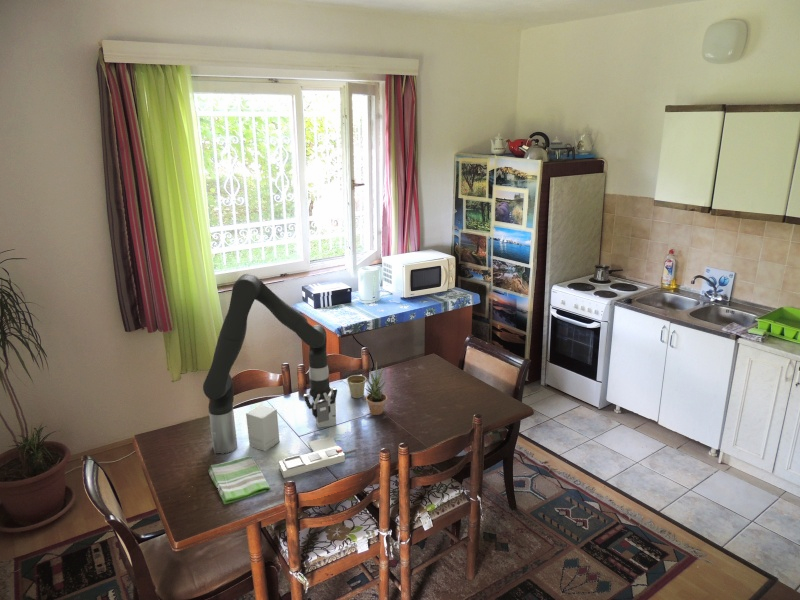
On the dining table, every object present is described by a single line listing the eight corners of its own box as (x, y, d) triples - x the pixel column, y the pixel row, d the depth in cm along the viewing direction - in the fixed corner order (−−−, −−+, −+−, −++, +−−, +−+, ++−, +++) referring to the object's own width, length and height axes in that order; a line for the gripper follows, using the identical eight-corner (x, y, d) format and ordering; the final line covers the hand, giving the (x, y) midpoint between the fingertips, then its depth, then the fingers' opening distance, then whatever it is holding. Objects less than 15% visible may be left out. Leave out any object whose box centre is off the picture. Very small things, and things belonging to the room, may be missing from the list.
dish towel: (252, 459, 222) (251, 452, 221) (272, 490, 203) (271, 482, 202) (208, 473, 214) (207, 465, 212) (224, 507, 195) (222, 498, 194)
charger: (318, 422, 223) (317, 404, 220) (314, 417, 227) (313, 399, 224) (329, 420, 225) (328, 402, 222) (325, 415, 229) (324, 397, 226)
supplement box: (280, 441, 234) (277, 409, 229) (265, 452, 226) (262, 418, 222) (264, 435, 238) (261, 403, 234) (248, 446, 231) (245, 413, 226)
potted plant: (390, 414, 254) (389, 363, 247) (370, 418, 251) (368, 367, 244) (382, 404, 263) (381, 355, 256) (363, 408, 260) (361, 359, 252)
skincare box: (318, 428, 243) (316, 397, 239) (315, 421, 249) (313, 391, 244) (337, 425, 246) (335, 394, 241) (334, 418, 251) (333, 388, 247)
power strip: (284, 477, 209) (283, 469, 208) (279, 468, 215) (278, 459, 214) (359, 457, 222) (358, 448, 220) (352, 448, 228) (352, 440, 227)
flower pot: (344, 393, 275) (344, 377, 272) (362, 389, 278) (362, 373, 276) (351, 401, 267) (350, 384, 264) (369, 397, 270) (369, 381, 268)
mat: (315, 455, 223) (315, 454, 223) (308, 443, 232) (308, 442, 232) (339, 449, 227) (339, 447, 227) (331, 437, 236) (331, 436, 236)
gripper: (304, 383, 214) (307, 423, 219) (339, 375, 220) (341, 415, 225) (298, 375, 221) (301, 415, 226) (333, 368, 226) (335, 407, 231)
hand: (321, 414), depth 225 cm, fingers closed on charger, 4 cm apart
